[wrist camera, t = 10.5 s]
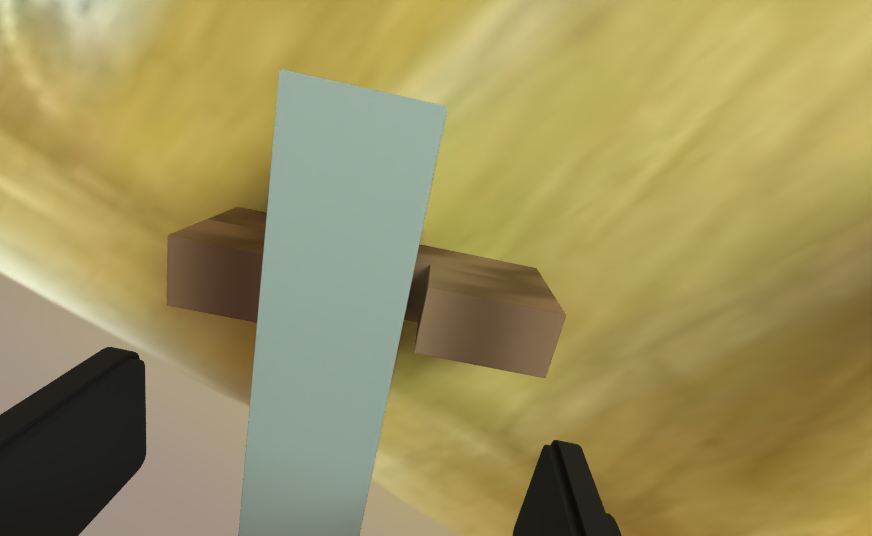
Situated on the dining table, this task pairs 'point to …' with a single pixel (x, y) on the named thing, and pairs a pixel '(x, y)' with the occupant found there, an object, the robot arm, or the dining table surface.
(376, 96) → the cross plate
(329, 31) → the dining table surface
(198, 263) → the brown long block
